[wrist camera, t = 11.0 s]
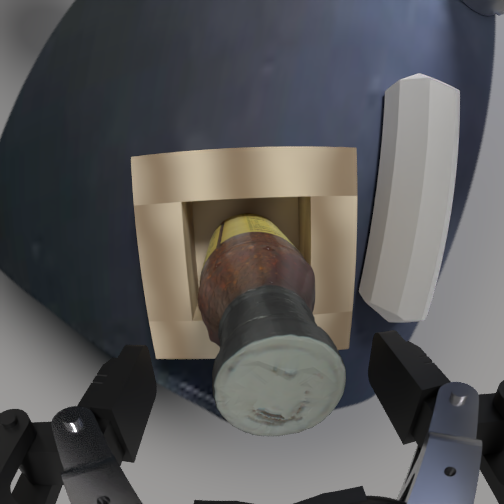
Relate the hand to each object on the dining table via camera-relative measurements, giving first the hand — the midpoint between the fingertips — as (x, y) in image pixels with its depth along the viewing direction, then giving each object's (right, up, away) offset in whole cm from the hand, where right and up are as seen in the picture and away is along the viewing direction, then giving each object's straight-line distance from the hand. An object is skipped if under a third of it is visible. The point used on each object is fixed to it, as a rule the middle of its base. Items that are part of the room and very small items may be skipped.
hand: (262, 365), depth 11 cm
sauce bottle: (-1, +5, +17) cm, 18 cm away
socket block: (-1, +5, +18) cm, 19 cm away
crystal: (+15, +9, +18) cm, 25 cm away
